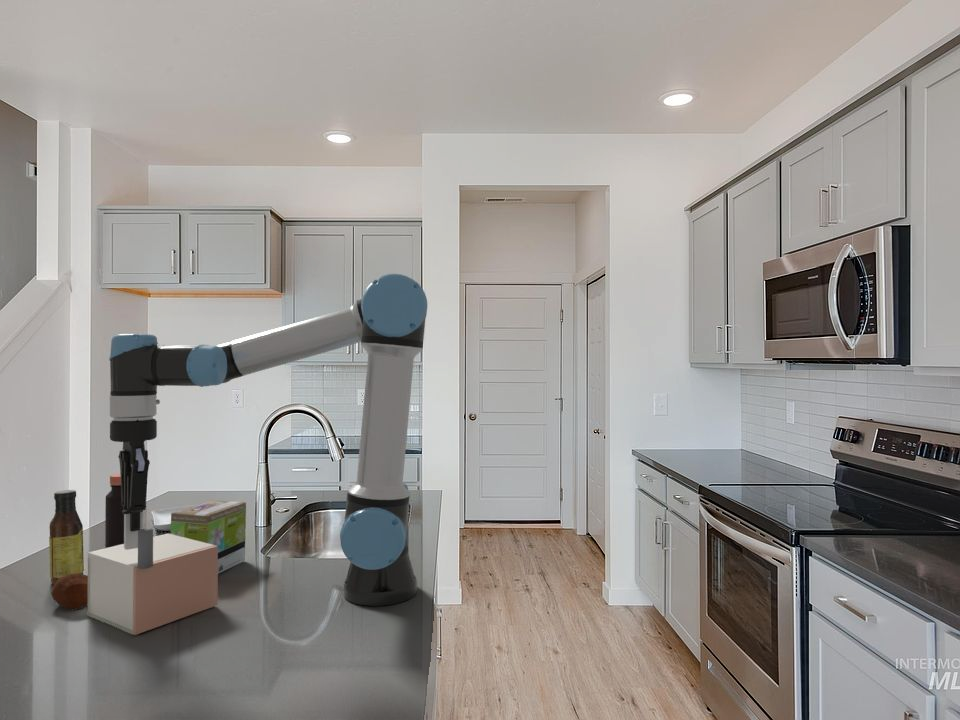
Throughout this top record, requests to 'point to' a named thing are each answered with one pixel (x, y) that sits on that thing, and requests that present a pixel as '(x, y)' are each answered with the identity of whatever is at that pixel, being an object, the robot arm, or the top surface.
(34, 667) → the top surface
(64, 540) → the sauce bottle
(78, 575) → the potato
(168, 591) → the side door
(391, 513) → the robot arm
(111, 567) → the case
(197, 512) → the tea box
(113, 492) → the vinegar
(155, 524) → the salad plate
